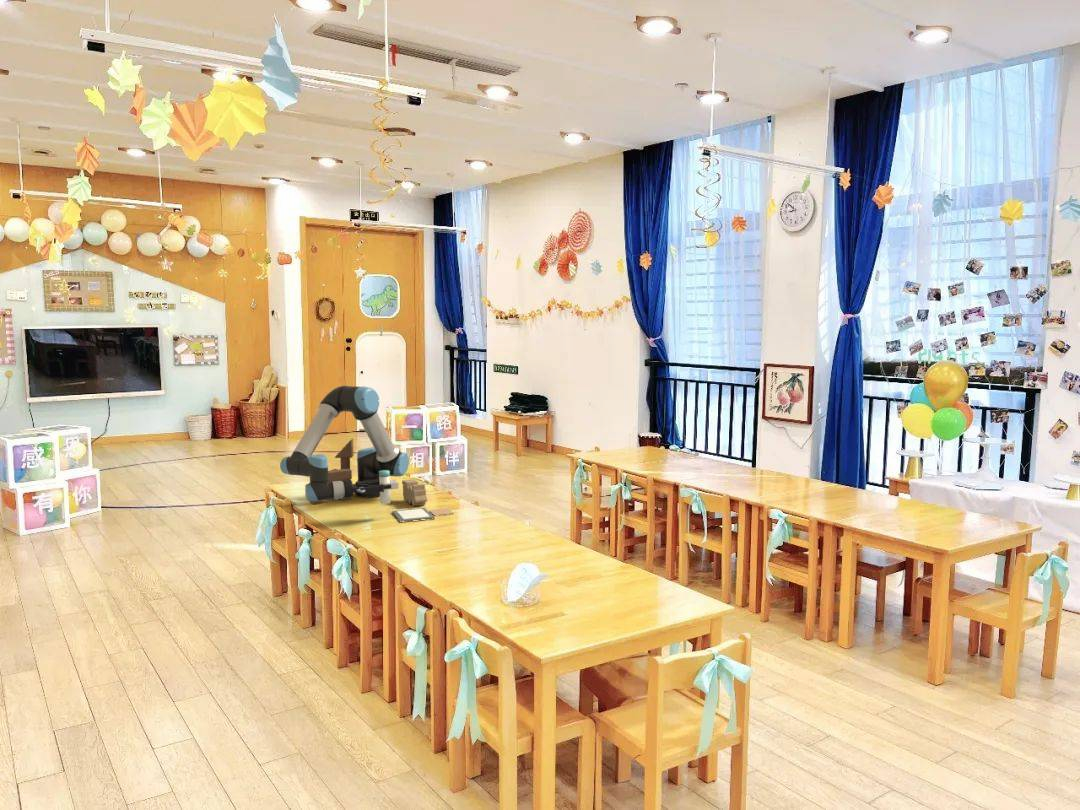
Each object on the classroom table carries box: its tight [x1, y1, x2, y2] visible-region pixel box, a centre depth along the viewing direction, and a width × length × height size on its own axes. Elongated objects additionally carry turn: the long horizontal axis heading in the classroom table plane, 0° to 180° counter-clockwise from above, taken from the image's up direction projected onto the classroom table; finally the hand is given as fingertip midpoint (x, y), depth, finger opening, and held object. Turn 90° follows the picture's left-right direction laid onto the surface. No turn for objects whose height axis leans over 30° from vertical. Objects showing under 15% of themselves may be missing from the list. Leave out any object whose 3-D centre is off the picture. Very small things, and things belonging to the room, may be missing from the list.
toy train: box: [401, 479, 428, 507], centre depth 375 cm, size 6×17×10 cm, turn 31°
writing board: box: [391, 507, 436, 523], centre depth 353 cm, size 18×15×1 cm
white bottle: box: [379, 470, 391, 505], centre depth 347 cm, size 5×5×14 cm
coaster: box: [428, 507, 455, 517], centre depth 358 cm, size 9×9×1 cm
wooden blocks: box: [309, 438, 355, 505], centre depth 385 cm, size 24×20×28 cm
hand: (396, 484), depth 349 cm, fingers closed on white bottle, 4 cm apart
